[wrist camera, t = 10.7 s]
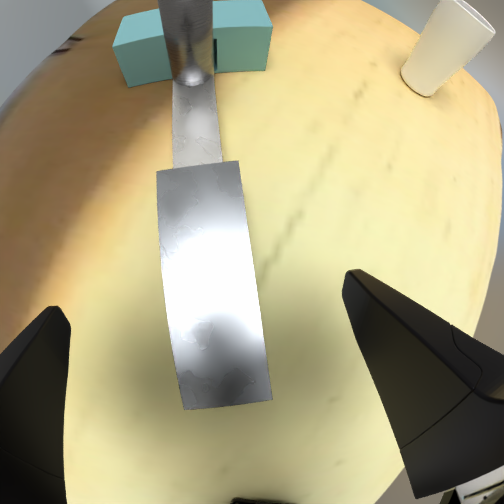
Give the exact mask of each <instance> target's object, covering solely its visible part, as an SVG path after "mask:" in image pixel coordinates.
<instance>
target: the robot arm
mask: <svg viewBox="0 0 504 504" xmlns="http://www.w3.org/2000/svg"><path fill="white" fill-rule="evenodd" d="M342 298H343V301H344V304H345V307H346V310H347V313H348V316H349V319H350V323H351V326H352V329H353V332H354V335H355V338H356V341H357V343H358V346H359V348H360V350H361V353H362V355H363V357H364V360H365V362H366V364H367V367H368V369H369V371H370V374H371V376H372V379H373V381H374V384H375V386H376V388H377V391H378V393H379V396H380V398H381V401H382V404H383V406H384V409H385V411H386V414H387V417H388V419H389V422H390V425H391V427H392V430H393V433H394V436H395V438H396V441H397V444H398V447H399V449H400V453H401V456H402V459H403V462H404V465H405V468H406V470H407V474H408V477H409V480H410V484H411V487H412V490H413V493H414V496H415V499H419V498H422V497H426V496H429V495H432V494H436V493H439V492H442V491H445V490H448V489H449V490H448V491H446V492H445V493H444V495H443V497H442V499H441V502H440V504H504V355H502V354H501V353H499V352H497V351H495V350H494V349H492V348H490V347H488V346H486V345H485V344H483V343H481V342H479V341H478V340H476V339H474V338H472V337H471V336H469V335H468V334H466V333H464V332H463V331H461V330H460V329H458V328H456V327H455V326H453V325H450V323H449V322H447V321H445V320H444V319H442V318H441V317H439V316H437V315H436V314H434V313H433V312H431V311H429V310H428V309H426V308H425V307H423V306H421V305H420V304H418V303H416V302H415V301H413V300H412V299H410V298H408V297H407V296H405V295H403V294H402V293H400V292H398V291H397V290H395V289H393V288H392V287H390V286H388V285H387V284H385V283H383V282H381V281H380V280H378V279H376V278H375V277H373V276H371V275H370V274H368V273H366V272H364V271H363V270H361V269H354V270H349V271H347V272H346V274H345V279H344V284H343V288H342ZM70 337H71V326H70V323H69V321H68V319H67V318H66V316H65V315H64V313H63V311H62V310H61V308H60V307H59V306H48V307H47V308H46V309H45V310H43V311H42V312H41V313H40V314H39V315H38V316H37V317H36V318H35V319H34V320H33V321H32V322H31V323H30V324H29V325H28V326H27V327H26V328H25V329H24V330H23V331H22V332H21V333H20V334H19V335H18V336H17V337H16V338H15V339H14V340H13V341H12V342H11V343H10V344H9V345H8V347H7V348H6V349H5V350H4V351H3V352H2V353H1V354H0V504H67V499H66V490H65V480H64V458H63V433H64V410H65V397H66V387H67V378H68V367H69V350H70ZM236 503H238V504H279V503H268V502H259V501H251V500H244V499H233V500H232V501H231V503H230V504H236Z"/></svg>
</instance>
